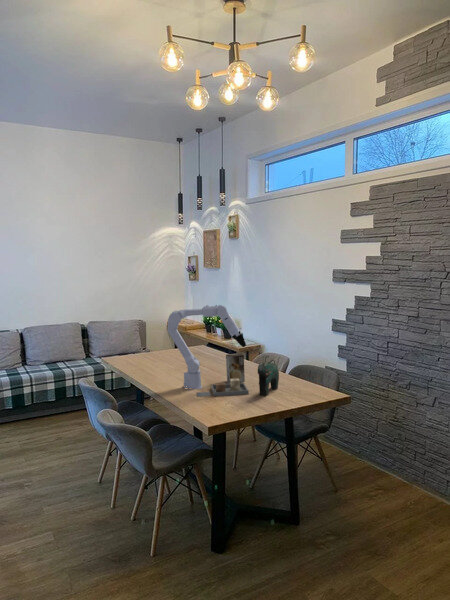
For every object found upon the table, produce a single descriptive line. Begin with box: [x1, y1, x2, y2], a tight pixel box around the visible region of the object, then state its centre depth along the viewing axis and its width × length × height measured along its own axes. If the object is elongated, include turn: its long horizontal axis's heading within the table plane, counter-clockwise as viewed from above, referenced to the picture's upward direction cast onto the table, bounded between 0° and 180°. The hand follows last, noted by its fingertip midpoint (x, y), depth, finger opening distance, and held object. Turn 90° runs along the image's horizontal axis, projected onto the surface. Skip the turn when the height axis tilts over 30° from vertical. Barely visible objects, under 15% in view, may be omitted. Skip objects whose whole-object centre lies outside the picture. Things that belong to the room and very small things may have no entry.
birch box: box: [229, 378, 241, 391], centre depth 235 cm, size 4×4×6 cm
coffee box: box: [225, 352, 246, 384], centre depth 254 cm, size 9×6×16 cm
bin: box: [211, 382, 250, 397], centre depth 235 cm, size 18×15×2 cm
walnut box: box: [215, 382, 226, 392], centre depth 231 cm, size 4×4×5 cm
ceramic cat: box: [257, 355, 280, 397], centre depth 231 cm, size 20×6×20 cm, turn 151°
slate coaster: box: [196, 391, 212, 398], centre depth 230 cm, size 7×7×1 cm
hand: (243, 345), depth 243 cm, fingers open, 7 cm apart
